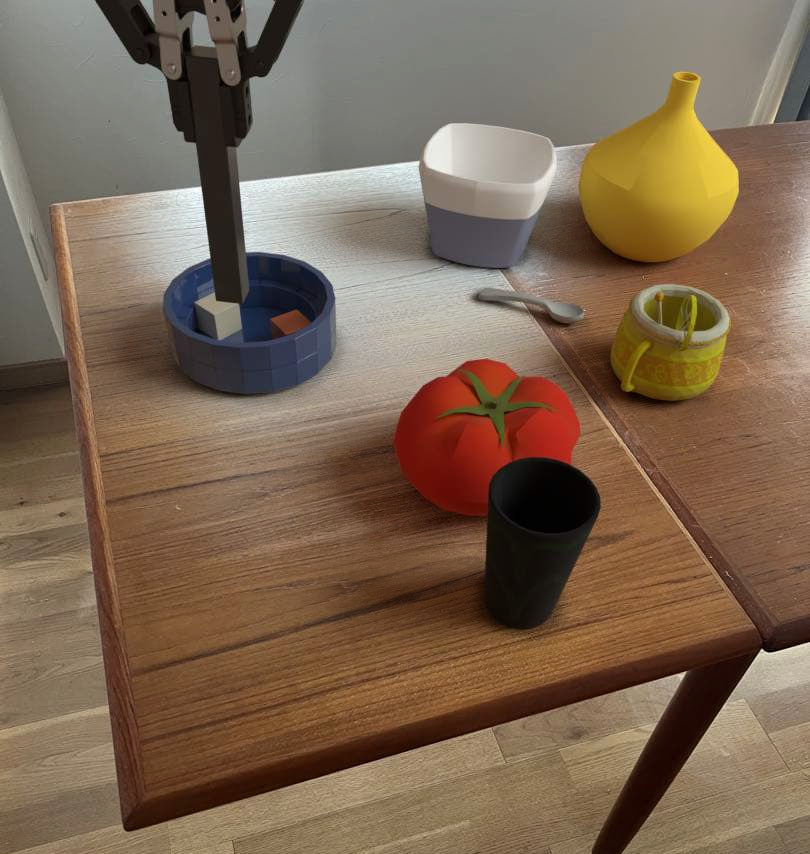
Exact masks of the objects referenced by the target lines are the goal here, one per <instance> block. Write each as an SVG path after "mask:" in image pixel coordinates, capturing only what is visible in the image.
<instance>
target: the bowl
mask: <svg viewBox="0 0 810 854" xmlns="http://www.w3.org/2000/svg"><path fill="white" fill-rule="evenodd" d="M557 159H558V158H557V151H556V149H555V146H554V144H553V142H552V141H551V139H550V138H549V137H547V136H543V135H540V134H537V133H534V132H529V131H525V130H521V129H515V128H510V127H505V126H496V125H489V124H481V123H480V124H479V123H466V122H462V123H461V122H460V123H458V122H456V123H454V122H453V123H447V124H445V125H443V126H442V127H440V128H439V129H438V130H437V131H436V132H435V133H434V134H433V135H432V136H431V137H430V138H429V140H428V141H427V143H426V144H425V146H424V148H423V149H422V152H421V155H420V157H419V162H418V172H419V178H420V185H421V191H422V196H423V202H424V208H425V215H426V220H427V227H428V232H429V233H428V234H429V239H430V246H431V251H432V253H433V255H435V256H437V257H439V258H441V259H444V260H448V261H451V262H454V263H457V264H462V265H467V266H472V267H480V268H492V269H493V268H494V269H508V268H511V267H512V266H514V265H515V264H517V263H518V261H519V260H520V259H521V257H522V256H523V254H524V252H525V251H526V247H527V245H528V243H529V241H530V238H531V235H532V232H533V230H534V228H535V225H536V222H537V220H538V217H539V215H540V213H541V210H542V207H543V205H544V202H545V200H546V198H547V196H548V192H549V191H550V187H551V185H552V183H553V180H554V177H555V175H556V173H557V165H558V161H557Z"/></svg>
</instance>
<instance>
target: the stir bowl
mask: <svg viewBox="0 0 810 854" xmlns="http://www.w3.org/2000/svg"><path fill="white" fill-rule="evenodd" d="M246 260H247V271H248V281H249V292H248V294H247V296H246V298H245V300H244V302H243V304H239V308H240V316H241V324H242V329H241V330H239V331H237V332H235V333H234V334H232V335H230V336H228V337H226V338H224V339H222V340H215V339H214V338H212V337H211V336H209V335H208V334H206V333H205V332H203V331H202V330H200V329H199V327H198V321H197V315H196V310H195V304H194V302H196V301H198V300H200V299H202V298H204V297H206V296H208V295H210V294H212V293H214V292H215V290H214V282H213V275H212V267H211V259H210V258H207V259H205V260H202V261H200V262H198V263H194V264H193V265H190V266H188V267H187V268H186V269H184V270H183V271H182V272H181V273H179V274H177V276H175V277H174V278H172V280H171V281H170V283H169V284H168V286H167V288H166V289H165V291H164V293H163V298H162V303H163V304H162V311H163V315H164V316H163V317H164V322H165V326H166V330H167V335H168V340H169V345H170V350H171V355H172V358H173V359H174V361H175V362H176V364H177V366H178V369H179V370H181V372H183V373H184V374H185V375H186V376H188V377H189V378H190V379H192V380H193V381H195V382H196V383H198V384H201V385H203V386H206V387H208V388H211V389H214V390H216V391H220V392H227V393H235V394H243V395H250V394H251V395H252V394H265V393H275V392H278V391H281V390H285V389H288V388H292V387H295V386H299V385H301V384H302V383H304V382H306V381H308V380H310V379H312V378H313V377H315V376H317V375H319V373H320V372H321V371H322V370H323V369H324V368H325V367H326V366H327V365H328V364H329V362H330V361H332V358H333V356H334V352H335V349H336V347H337V311H336V309H337V307H336V296H335V291H334V290H335V289H334V286H333V284H332V282H331V281H330V280H329V278H328V277H327V276H326V275H325V274H324V273H323V271H321V270H320V269H318V268H316V267H315V266H313V265H311V264H310V263H308V262H307V261H305V260H302V259H298V258H296V257H292V256H289V255H285V254H280V253H272V252H263V251H250V252H247V251H246ZM294 310H298V311H299V312H300V313H302V314H303V315H304V316H305V317H306V318H307V319H308V320H309V321H310V322H311V324H310V325H309V326H307V327H305V328H303V329H301V330H299V331H297V332H295V333H293V334H291V335H289V336H285V337H281V338H277V339H273V340H272V334H271V324H270V319H271V318H274V317H277V316H280V315H283V314H286V313H288V312H291V311H294Z"/></svg>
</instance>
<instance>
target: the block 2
mask: <svg viewBox="0 0 810 854" xmlns="http://www.w3.org/2000/svg"><path fill="white" fill-rule="evenodd" d="M270 324H271V334H272V340H273V339H277V338H281V337H285V336H289V335H291V334H293V333H295V332H297V331H299V330H301V329H303V328H305V327H307V326H309V325H310V324H311V322H310V321H309V320H308V319H307V318H306V317H305V316H304V315H303V314H302V313H300V312H299V311H298V310H294V311H291V312H288V313H286V314H283V315H280V316H277V317H274V318H271V319H270Z"/></svg>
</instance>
